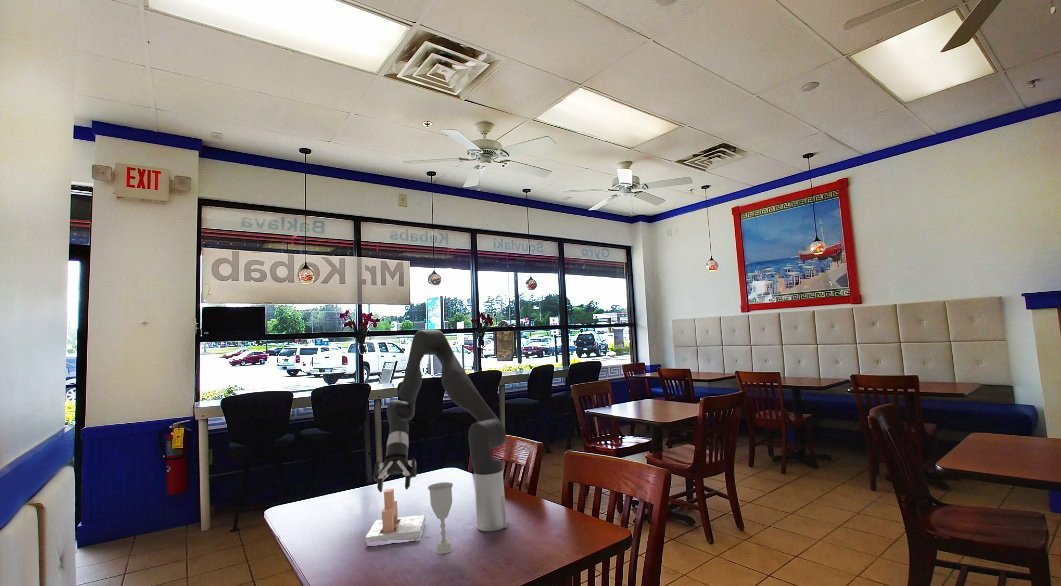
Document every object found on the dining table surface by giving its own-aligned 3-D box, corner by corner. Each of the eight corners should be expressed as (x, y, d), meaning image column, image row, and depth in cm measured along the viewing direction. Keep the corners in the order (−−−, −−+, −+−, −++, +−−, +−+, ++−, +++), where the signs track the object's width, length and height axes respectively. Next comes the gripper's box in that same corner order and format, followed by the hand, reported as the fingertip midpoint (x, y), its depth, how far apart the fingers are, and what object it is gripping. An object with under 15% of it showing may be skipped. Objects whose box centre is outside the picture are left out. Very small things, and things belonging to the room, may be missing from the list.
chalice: (459, 544, 145) (455, 481, 146) (453, 554, 138) (449, 488, 140) (435, 545, 145) (431, 483, 147) (428, 555, 139) (424, 490, 140)
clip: (398, 529, 161) (396, 485, 162) (393, 541, 151) (390, 494, 153) (389, 530, 161) (386, 486, 162) (383, 542, 151) (380, 495, 152)
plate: (425, 524, 164) (425, 514, 164) (420, 540, 150) (419, 530, 150) (376, 529, 162) (375, 520, 162) (366, 547, 148) (365, 537, 148)
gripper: (375, 443, 175) (369, 486, 162) (416, 439, 176) (413, 481, 164) (379, 455, 179) (373, 497, 167) (418, 451, 181) (416, 493, 168)
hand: (393, 489), depth 165 cm, fingers open, 8 cm apart
